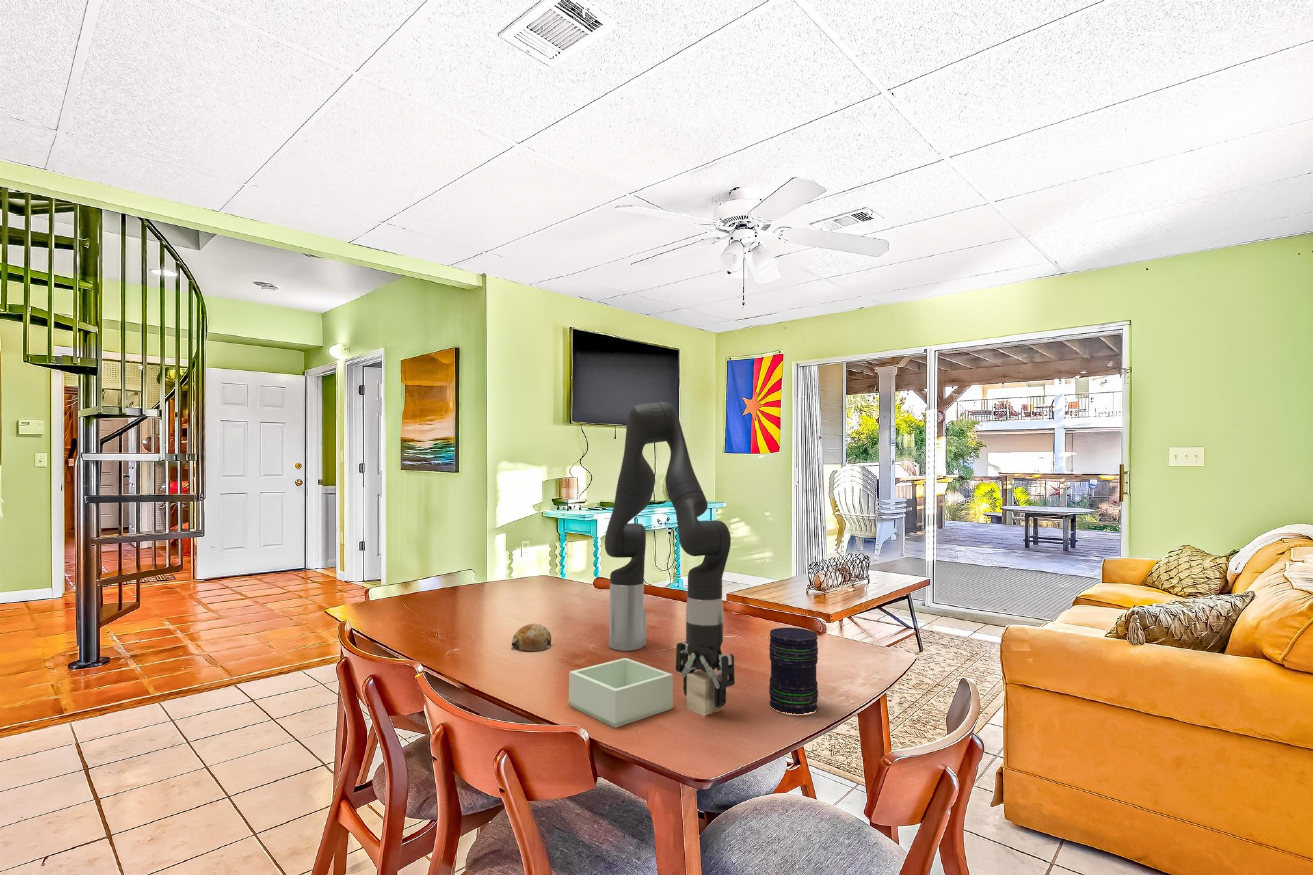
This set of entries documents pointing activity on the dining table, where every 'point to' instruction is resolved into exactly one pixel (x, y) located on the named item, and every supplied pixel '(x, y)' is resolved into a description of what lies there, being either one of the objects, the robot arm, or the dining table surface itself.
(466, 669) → the dining table surface
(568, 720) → the dining table surface
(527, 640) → the bread roll
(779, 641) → the storage jar
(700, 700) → the block
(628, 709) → the bin
